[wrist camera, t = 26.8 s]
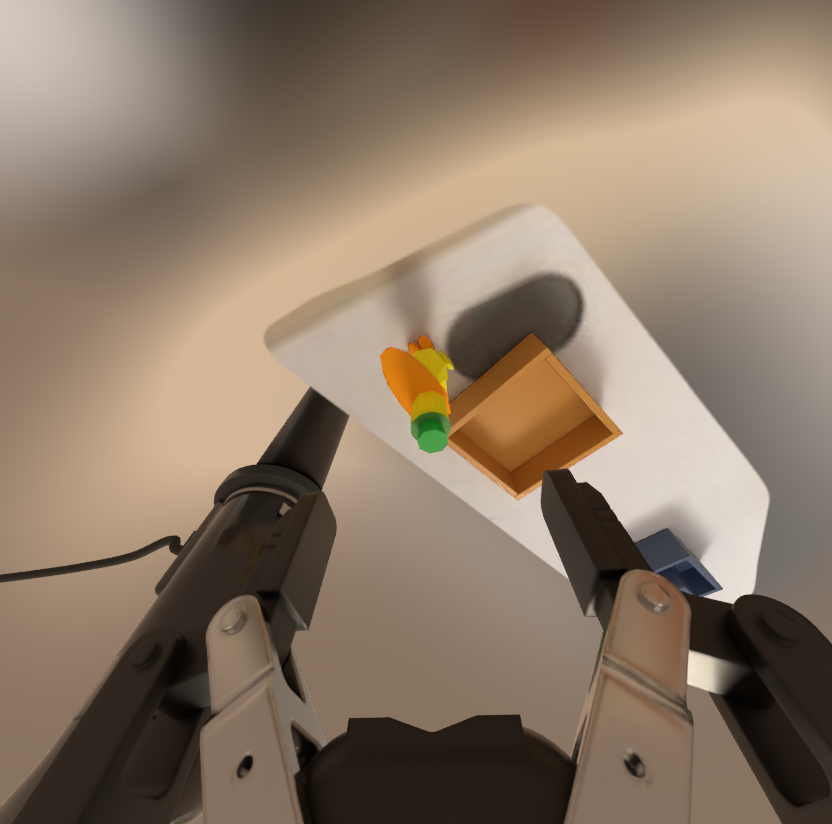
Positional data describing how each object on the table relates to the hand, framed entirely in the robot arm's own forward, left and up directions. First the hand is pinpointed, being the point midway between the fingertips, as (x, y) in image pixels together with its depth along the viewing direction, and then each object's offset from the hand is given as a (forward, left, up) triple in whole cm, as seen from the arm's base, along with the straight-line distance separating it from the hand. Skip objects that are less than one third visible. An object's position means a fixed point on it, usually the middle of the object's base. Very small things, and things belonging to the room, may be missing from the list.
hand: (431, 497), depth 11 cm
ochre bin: (+8, -8, -16) cm, 20 cm away
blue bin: (+25, -34, -16) cm, 45 cm away
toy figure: (0, 0, -17) cm, 17 cm away
